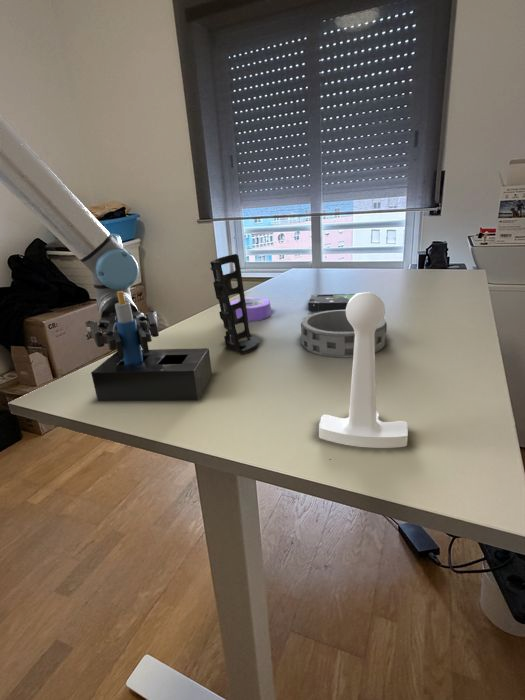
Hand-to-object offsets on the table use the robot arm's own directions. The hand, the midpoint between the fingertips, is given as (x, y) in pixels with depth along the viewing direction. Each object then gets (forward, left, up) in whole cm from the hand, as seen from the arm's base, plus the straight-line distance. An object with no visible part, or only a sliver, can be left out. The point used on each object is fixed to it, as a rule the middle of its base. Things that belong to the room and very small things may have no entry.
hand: (132, 347), depth 64 cm
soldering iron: (-3, +5, -10) cm, 11 cm away
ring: (+35, +28, -10) cm, 46 cm away
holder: (+12, +27, -10) cm, 31 cm away
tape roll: (+11, +52, -10) cm, 54 cm away
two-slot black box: (+1, +5, -10) cm, 11 cm away
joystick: (+35, -9, -10) cm, 38 cm away
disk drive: (+35, +58, -10) cm, 68 cm away
